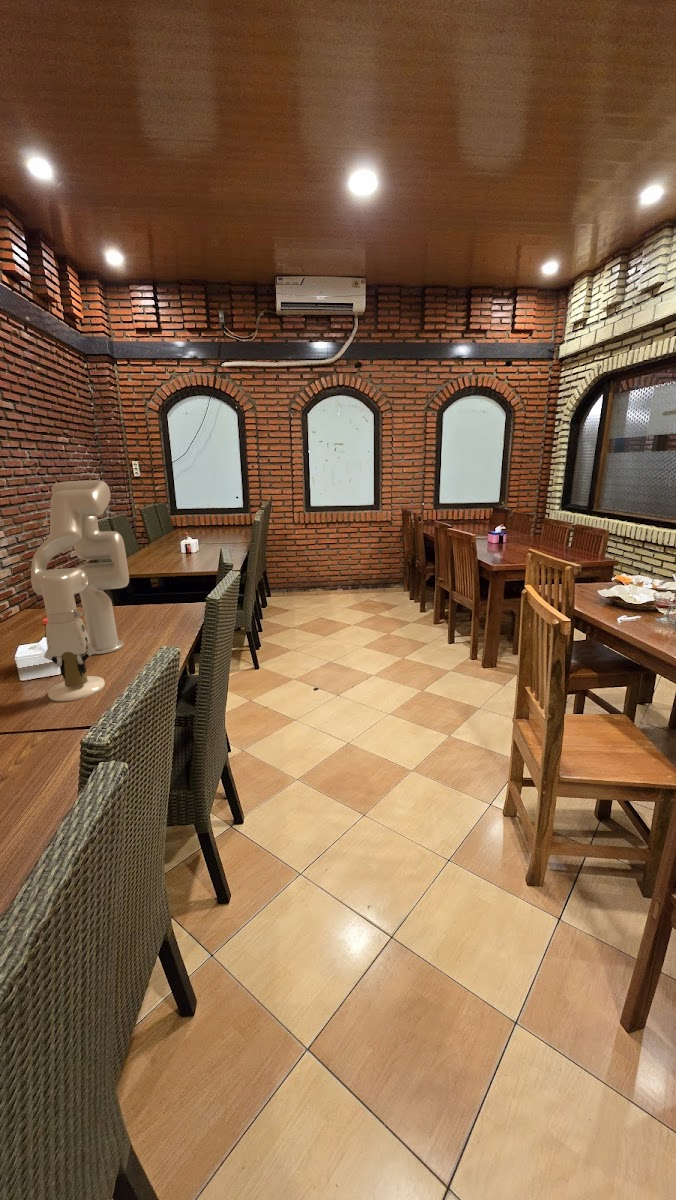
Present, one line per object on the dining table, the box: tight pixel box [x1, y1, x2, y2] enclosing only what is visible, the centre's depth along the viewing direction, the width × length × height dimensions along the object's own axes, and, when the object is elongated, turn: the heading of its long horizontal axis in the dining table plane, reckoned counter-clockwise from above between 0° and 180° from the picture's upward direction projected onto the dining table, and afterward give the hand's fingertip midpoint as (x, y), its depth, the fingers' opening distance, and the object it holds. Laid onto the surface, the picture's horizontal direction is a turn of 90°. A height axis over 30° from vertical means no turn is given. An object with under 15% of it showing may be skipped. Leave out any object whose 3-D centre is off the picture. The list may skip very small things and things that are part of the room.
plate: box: [47, 675, 106, 702], centre depth 142 cm, size 15×15×1 cm
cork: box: [61, 652, 88, 687], centre depth 141 cm, size 6×6×11 cm
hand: (74, 675), depth 142 cm, fingers closed on cork, 3 cm apart
